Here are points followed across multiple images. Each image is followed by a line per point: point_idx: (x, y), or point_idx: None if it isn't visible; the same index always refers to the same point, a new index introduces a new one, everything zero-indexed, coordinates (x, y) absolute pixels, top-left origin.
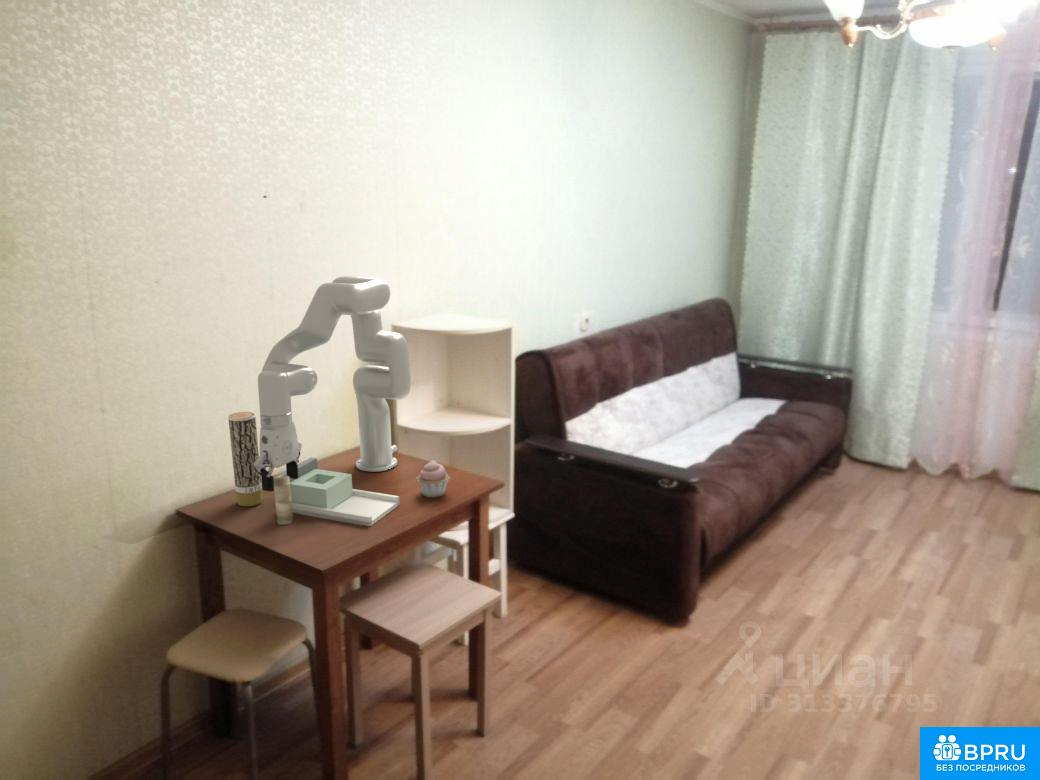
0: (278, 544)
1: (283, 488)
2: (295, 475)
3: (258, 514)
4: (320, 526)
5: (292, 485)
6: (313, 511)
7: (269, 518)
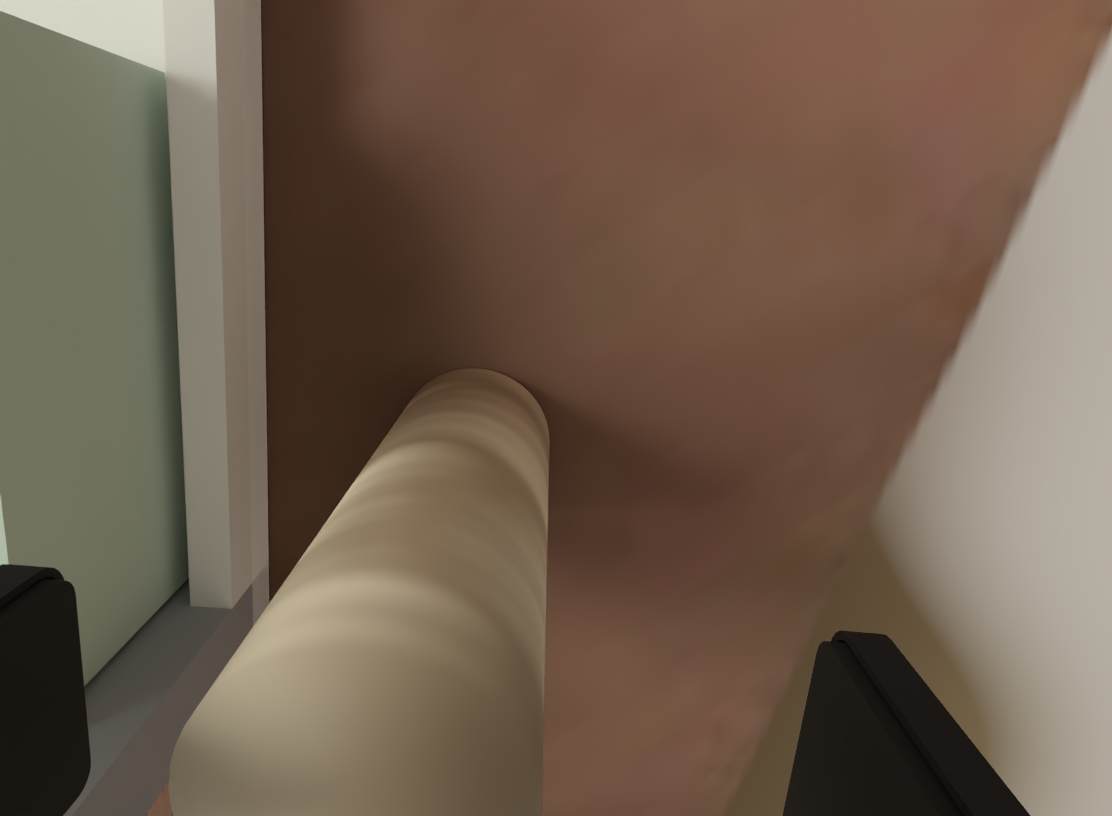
0: (936, 227)
1: (505, 586)
2: (19, 629)
3: None
4: (454, 25)
5: None
6: (240, 236)
7: None
